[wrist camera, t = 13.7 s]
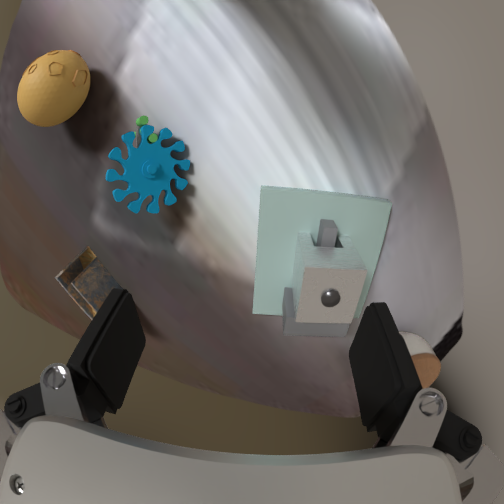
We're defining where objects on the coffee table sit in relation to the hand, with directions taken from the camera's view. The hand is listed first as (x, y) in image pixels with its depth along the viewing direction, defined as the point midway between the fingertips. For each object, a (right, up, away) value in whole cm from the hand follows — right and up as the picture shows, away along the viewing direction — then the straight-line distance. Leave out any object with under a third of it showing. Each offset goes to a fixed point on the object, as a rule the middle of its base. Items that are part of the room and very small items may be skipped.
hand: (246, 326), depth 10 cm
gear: (-11, +14, +21) cm, 27 cm away
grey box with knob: (+9, +2, +24) cm, 26 cm away
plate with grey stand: (+9, +2, +26) cm, 27 cm away
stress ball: (-23, +25, +16) cm, 37 cm away
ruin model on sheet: (-23, -1, +30) cm, 38 cm away
